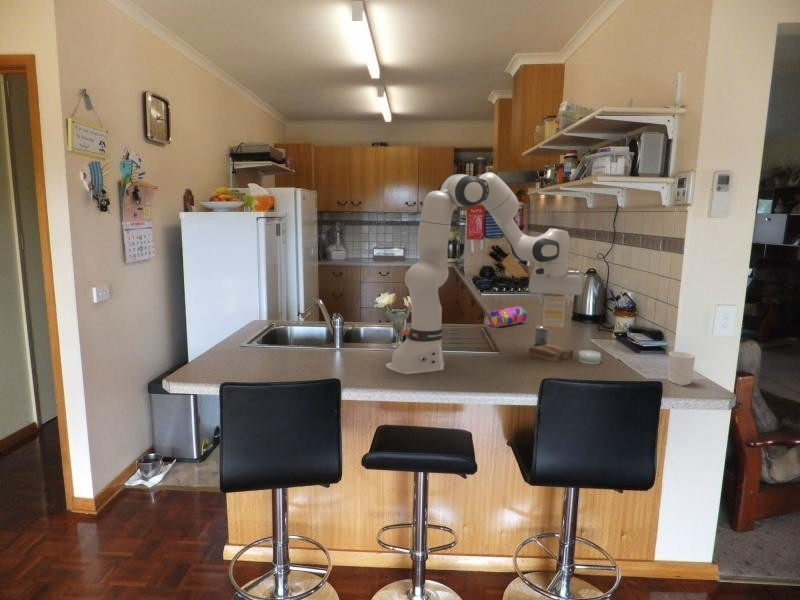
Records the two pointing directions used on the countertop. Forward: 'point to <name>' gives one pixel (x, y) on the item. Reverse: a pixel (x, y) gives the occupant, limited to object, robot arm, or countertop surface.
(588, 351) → the ramekin
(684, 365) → the white cup
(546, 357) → the podium
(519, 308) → the pencil case
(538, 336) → the spice tin
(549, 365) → the countertop surface
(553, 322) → the supplement box
